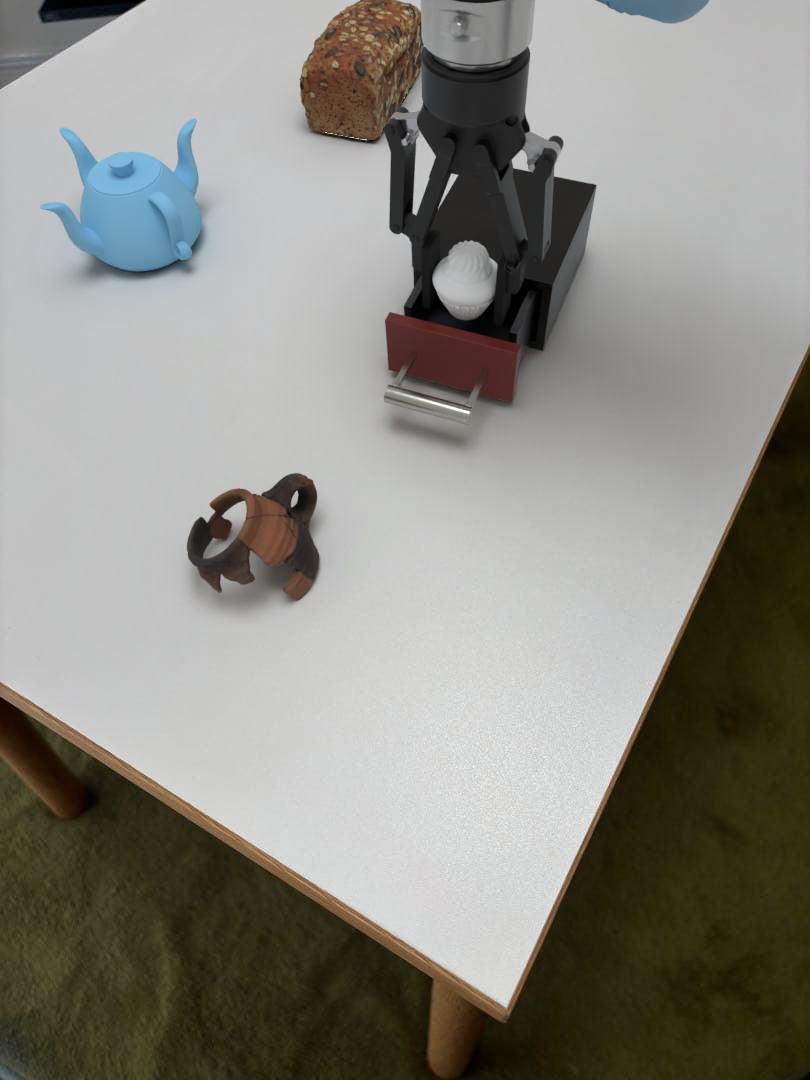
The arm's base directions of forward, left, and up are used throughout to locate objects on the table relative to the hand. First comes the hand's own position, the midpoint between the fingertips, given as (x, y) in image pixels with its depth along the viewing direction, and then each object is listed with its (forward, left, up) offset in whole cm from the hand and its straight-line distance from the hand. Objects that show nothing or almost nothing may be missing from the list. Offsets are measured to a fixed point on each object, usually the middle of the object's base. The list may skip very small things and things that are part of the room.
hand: (465, 306), depth 76 cm
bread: (+28, -40, -7) cm, 49 cm away
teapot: (+41, -6, -7) cm, 42 cm away
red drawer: (0, 0, -6) cm, 6 cm away
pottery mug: (+8, +27, -7) cm, 29 cm away
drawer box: (0, -12, -7) cm, 14 cm away
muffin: (0, 0, -1) cm, 1 cm away
